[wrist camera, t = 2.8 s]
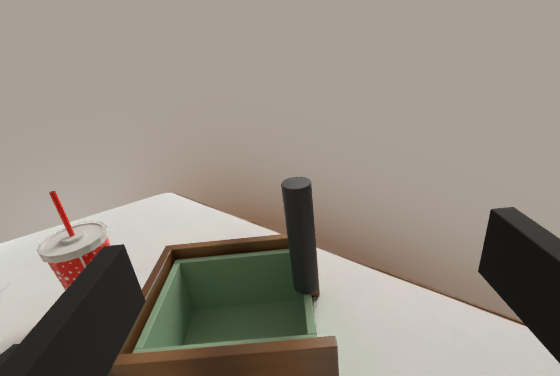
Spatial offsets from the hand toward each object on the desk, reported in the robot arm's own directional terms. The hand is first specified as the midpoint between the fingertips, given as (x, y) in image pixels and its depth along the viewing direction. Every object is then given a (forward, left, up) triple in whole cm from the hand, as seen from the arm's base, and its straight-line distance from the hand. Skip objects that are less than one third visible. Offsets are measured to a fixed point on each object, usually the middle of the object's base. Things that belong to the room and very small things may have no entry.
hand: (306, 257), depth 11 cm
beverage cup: (+26, -10, -17) cm, 33 cm away
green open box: (+8, -8, -17) cm, 20 cm away
